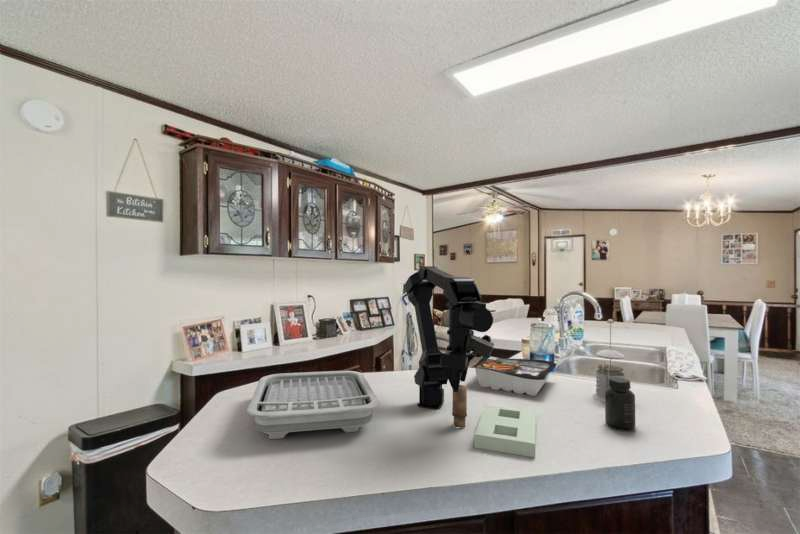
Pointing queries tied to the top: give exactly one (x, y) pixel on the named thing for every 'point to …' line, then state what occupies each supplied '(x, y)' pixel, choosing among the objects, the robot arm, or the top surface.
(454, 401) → the peg
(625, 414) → the supplement bottle
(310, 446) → the top surface
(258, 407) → the dish rack
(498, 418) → the board
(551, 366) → the food packaging
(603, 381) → the french press
